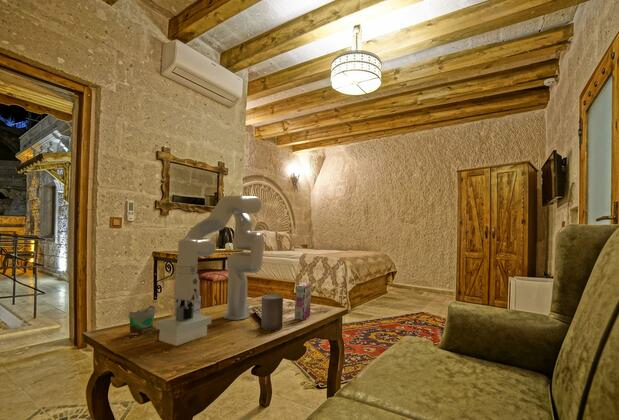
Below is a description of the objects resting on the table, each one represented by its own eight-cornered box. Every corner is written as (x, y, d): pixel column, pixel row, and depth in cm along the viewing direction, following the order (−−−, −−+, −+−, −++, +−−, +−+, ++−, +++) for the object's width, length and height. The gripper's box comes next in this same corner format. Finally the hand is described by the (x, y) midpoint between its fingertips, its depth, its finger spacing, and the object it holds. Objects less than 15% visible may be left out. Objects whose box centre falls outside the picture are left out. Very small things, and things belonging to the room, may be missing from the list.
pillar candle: (286, 326, 144) (287, 292, 145) (274, 331, 135) (275, 296, 136) (268, 323, 148) (269, 290, 150) (256, 328, 140) (257, 294, 141)
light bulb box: (188, 317, 154) (190, 294, 155) (200, 318, 152) (201, 295, 153) (173, 323, 144) (174, 299, 145) (185, 324, 142) (186, 300, 143)
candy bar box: (303, 320, 153) (304, 286, 154) (294, 319, 155) (295, 285, 156) (310, 315, 164) (311, 283, 165) (301, 314, 165) (302, 282, 166)
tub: (189, 333, 131) (190, 315, 131) (206, 337, 126) (207, 319, 126) (158, 343, 119) (160, 324, 119) (176, 348, 114) (177, 328, 114)
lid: (191, 318, 133) (191, 300, 133) (211, 323, 127) (212, 304, 127) (155, 328, 119) (156, 308, 119) (176, 334, 113) (177, 313, 113)
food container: (140, 339, 122) (142, 313, 122) (127, 338, 123) (128, 312, 124) (161, 330, 134) (163, 306, 134) (149, 328, 135) (150, 305, 136)
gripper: (208, 271, 123) (206, 319, 122) (181, 267, 131) (179, 312, 130) (193, 273, 117) (190, 323, 116) (165, 269, 125) (163, 316, 124)
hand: (184, 317), depth 123 cm, fingers closed on lid, 2 cm apart
